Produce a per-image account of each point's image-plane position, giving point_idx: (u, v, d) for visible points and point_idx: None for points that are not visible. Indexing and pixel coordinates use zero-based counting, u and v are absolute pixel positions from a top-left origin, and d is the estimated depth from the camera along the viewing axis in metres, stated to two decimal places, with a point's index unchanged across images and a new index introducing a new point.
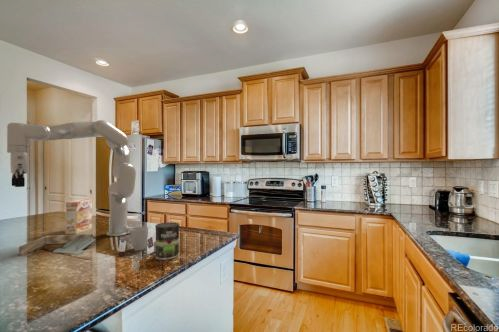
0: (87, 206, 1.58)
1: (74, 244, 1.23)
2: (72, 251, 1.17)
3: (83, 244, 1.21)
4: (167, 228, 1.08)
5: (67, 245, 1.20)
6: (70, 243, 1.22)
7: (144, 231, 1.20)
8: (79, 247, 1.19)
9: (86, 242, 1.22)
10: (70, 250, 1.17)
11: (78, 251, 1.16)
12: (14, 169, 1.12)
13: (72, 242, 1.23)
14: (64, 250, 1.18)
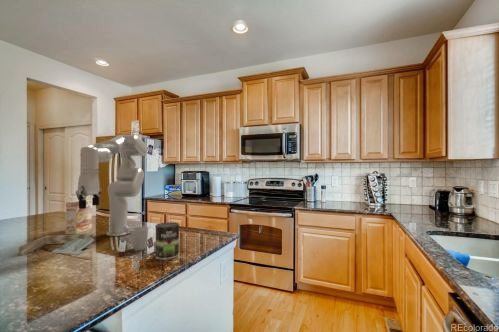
0: (87, 206, 1.58)
1: (73, 244, 1.22)
2: (71, 251, 1.16)
3: (82, 244, 1.20)
4: (167, 228, 1.08)
5: (66, 245, 1.20)
6: (69, 243, 1.21)
7: (144, 231, 1.20)
8: (78, 247, 1.18)
9: (85, 242, 1.22)
10: (69, 250, 1.17)
11: (77, 251, 1.16)
12: (99, 189, 1.27)
13: (71, 242, 1.22)
14: (63, 250, 1.17)
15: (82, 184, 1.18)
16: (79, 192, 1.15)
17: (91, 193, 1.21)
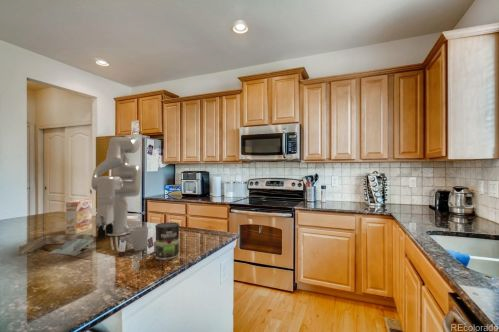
0: (87, 206, 1.58)
1: (72, 245, 1.21)
2: (69, 252, 1.15)
3: (81, 245, 1.20)
4: (167, 228, 1.08)
5: (64, 246, 1.19)
6: (68, 244, 1.21)
7: (144, 231, 1.20)
8: (77, 248, 1.17)
9: (84, 243, 1.21)
10: (67, 251, 1.16)
11: (75, 252, 1.15)
12: None
13: (70, 243, 1.22)
14: (61, 251, 1.16)
15: (101, 214, 1.19)
16: (100, 222, 1.16)
17: (109, 222, 1.22)
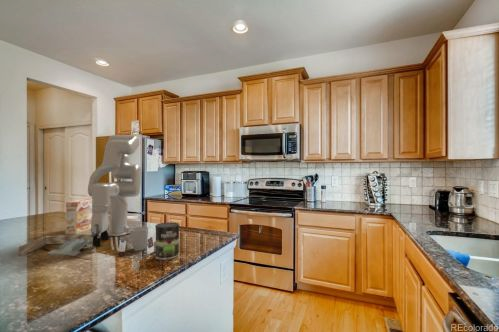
0: (87, 206, 1.58)
1: (70, 245, 1.21)
2: (68, 252, 1.15)
3: (79, 245, 1.19)
4: (167, 228, 1.08)
5: (63, 246, 1.19)
6: (66, 244, 1.20)
7: (144, 231, 1.20)
8: (75, 248, 1.17)
9: (82, 243, 1.21)
10: (66, 251, 1.16)
11: (74, 252, 1.15)
12: None
13: (68, 243, 1.21)
14: (60, 251, 1.16)
15: (96, 222, 1.19)
16: (95, 231, 1.16)
17: (104, 230, 1.23)
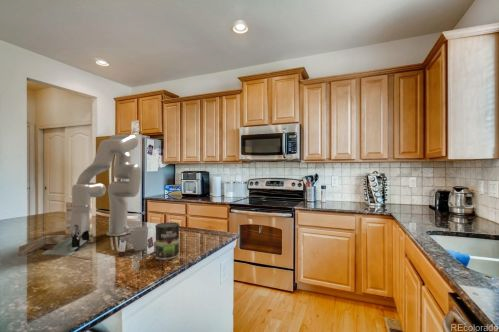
0: None
1: (64, 245, 1.20)
2: (63, 252, 1.14)
3: None
4: (167, 228, 1.08)
5: (57, 246, 1.18)
6: (60, 244, 1.20)
7: (144, 231, 1.20)
8: (70, 248, 1.17)
9: None
10: (61, 251, 1.15)
11: (69, 252, 1.14)
12: None
13: (62, 243, 1.21)
14: (54, 252, 1.15)
15: (76, 223, 1.17)
16: (74, 231, 1.15)
17: (84, 230, 1.21)
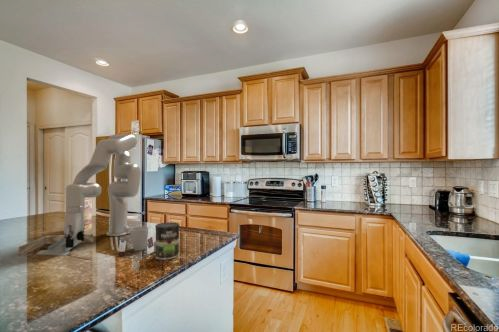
0: (87, 206, 1.58)
1: (59, 245, 1.20)
2: (58, 252, 1.15)
3: None
4: (167, 228, 1.08)
5: (52, 247, 1.18)
6: (55, 244, 1.20)
7: (144, 231, 1.20)
8: (65, 248, 1.17)
9: None
10: (55, 251, 1.15)
11: (64, 252, 1.15)
12: None
13: (57, 243, 1.21)
14: (49, 252, 1.15)
15: (70, 223, 1.17)
16: (67, 232, 1.14)
17: (78, 231, 1.21)
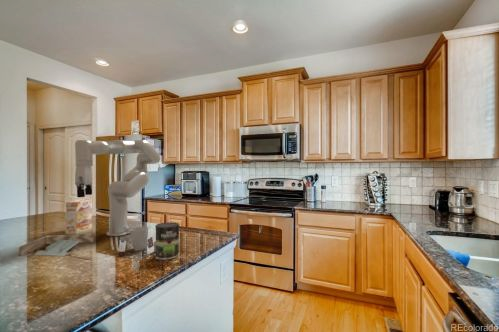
0: (87, 206, 1.58)
1: (57, 246, 1.19)
2: (56, 253, 1.14)
3: (67, 246, 1.18)
4: (167, 228, 1.08)
5: (50, 247, 1.17)
6: (53, 245, 1.19)
7: (144, 231, 1.20)
8: (63, 249, 1.16)
9: (70, 244, 1.20)
10: (53, 252, 1.14)
11: (62, 253, 1.14)
12: None
13: (55, 244, 1.20)
14: (47, 252, 1.14)
15: (80, 174, 1.26)
16: (79, 182, 1.24)
17: (87, 183, 1.30)
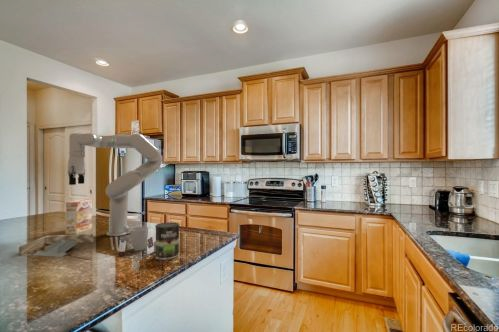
0: (87, 206, 1.58)
1: (56, 247, 1.19)
2: (54, 254, 1.13)
3: (66, 246, 1.17)
4: (167, 228, 1.08)
5: (48, 248, 1.16)
6: (51, 246, 1.18)
7: (144, 231, 1.20)
8: (61, 250, 1.15)
9: (69, 244, 1.19)
10: (52, 253, 1.14)
11: (60, 254, 1.13)
12: None
13: (54, 245, 1.19)
14: (45, 253, 1.14)
15: (72, 164, 1.40)
16: (71, 170, 1.37)
17: (79, 172, 1.44)
